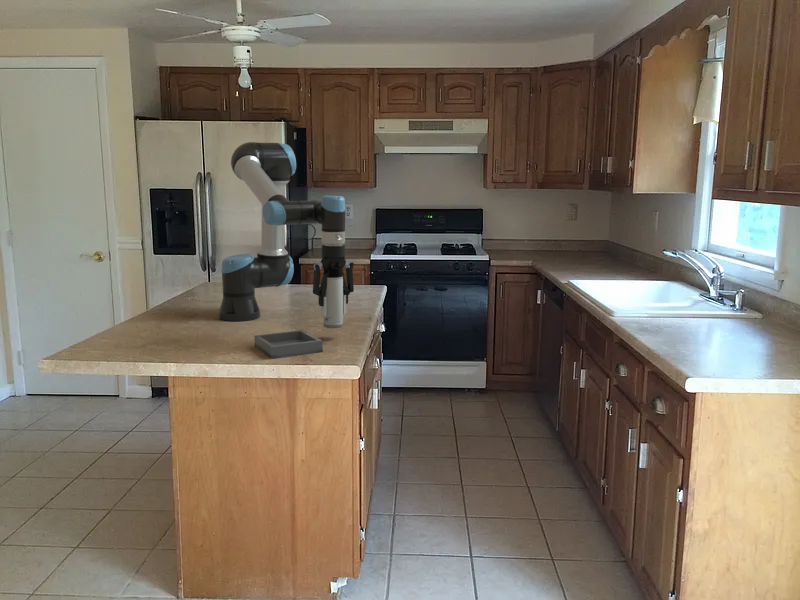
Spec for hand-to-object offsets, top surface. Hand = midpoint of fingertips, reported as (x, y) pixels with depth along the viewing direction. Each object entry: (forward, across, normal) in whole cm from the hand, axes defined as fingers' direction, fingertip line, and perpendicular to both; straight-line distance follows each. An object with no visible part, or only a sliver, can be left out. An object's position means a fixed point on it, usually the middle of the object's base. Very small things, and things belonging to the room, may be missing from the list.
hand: (333, 314), depth 214 cm
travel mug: (+4, 0, 0) cm, 4 cm away
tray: (+8, -18, -6) cm, 20 cm away
